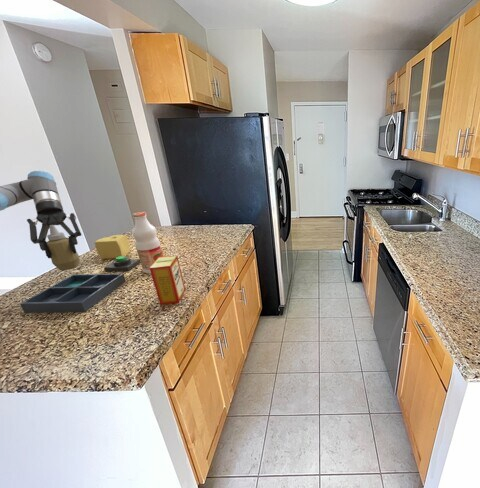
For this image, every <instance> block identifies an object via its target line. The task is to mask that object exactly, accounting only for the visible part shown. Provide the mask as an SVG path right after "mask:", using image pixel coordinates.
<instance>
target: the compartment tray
mask: <svg viewBox="0 0 480 488" xmlns="http://www.w3.org/2000/svg"><path fill="white" fill-rule="evenodd" d="M126 282H127V280H126V278H125V274H124V273H79V274H77V273H76V274H73V273H72V274H71V275H69V276H67V277H66V278H63V279H62V280H60V281H58V282H56V283H54V284H53V285H51V286H49V287H47V288H46V289H44V290H42V291H40V292H38V293H36V294H35V295H33V296H31V297H29V298H27V299H26V300H24V301H22V302H20V303H19V305H20V307H21V310H22V311H23V313H24V314H35V313H36V314H37V313H38V314H40V313H43V314H44V313H85V312H87V311H88V310H90V309H91V308H93V307H94V306H96V304H98V303H99V302H101V301H102V300H103V299H105V298H106V297H108V295H109V296H110V294H111V293H113V292H114V291H116V290H117V289H118V288H120V287H121V286H122V285H123V284H125V283H126Z"/></svg>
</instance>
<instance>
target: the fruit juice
mask: <svg viewBox="0 0 480 488" xmlns="http://www.w3.org/2000/svg"><path fill="white" fill-rule="evenodd" d="M147 215H148V214H147V212H146V211H138V212H134V213H132V217H133V218H134V227H133V229H132V233H131V234H132V237H133V238H134V239H135V243H134V244H135V245H134V246H135V249H136V253H137V255H138V259H140V262H141V263H140V265H141V269H142V271H143V273H144V274H147V275H151V271H150V267H151V266H152V265H153V264H154V262H155V261H156V260H157V259H158V258H159V257H165V256H164V253H163V249H162V245H161V241H160V240H159V239H160V238H159V237H158V235H157V233H158V231H157V227H155V226H154V225H153V224H151V222H150V221H149V220H148V218H147Z"/></svg>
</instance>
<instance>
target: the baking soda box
mask: <svg viewBox="0 0 480 488" xmlns="http://www.w3.org/2000/svg"><path fill="white" fill-rule="evenodd" d="M150 271H151V274H150V275H151V277H152V282H153V285H154V288H155V292H156V296H157V298H158V303H159V306H163V305H171V304H179V303H180V301H181V299H182V298H183V296H184V294H185V292H186V286H185V281H184V277H183V273H182V269H181V264H180V260H179V257H178V255H168V256H167V255H166V256H164V257H159V258H158V259H157V260H156V261H155V262H154V264H153V265H152V266H151V267H150Z"/></svg>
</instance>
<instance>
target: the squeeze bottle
mask: <svg viewBox="0 0 480 488" xmlns="http://www.w3.org/2000/svg"><path fill="white" fill-rule="evenodd" d="M46 238H47V239H48V240H47V241H46V242H47V246H48V249H49V252H50V254H51V258H50V260H51V264H52V265H54V266H55V268H57V269H58V270H59V271H69V270H73V269H75V268H79V266H80V255H79V254H78V252H77V253H74V252H73V251H72V248H71V244H70V241H69V237H66V235H65V233H64V232H60V231H59V230H58V229H57V227H56V225H50V228H49V234H47V237H46Z"/></svg>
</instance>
